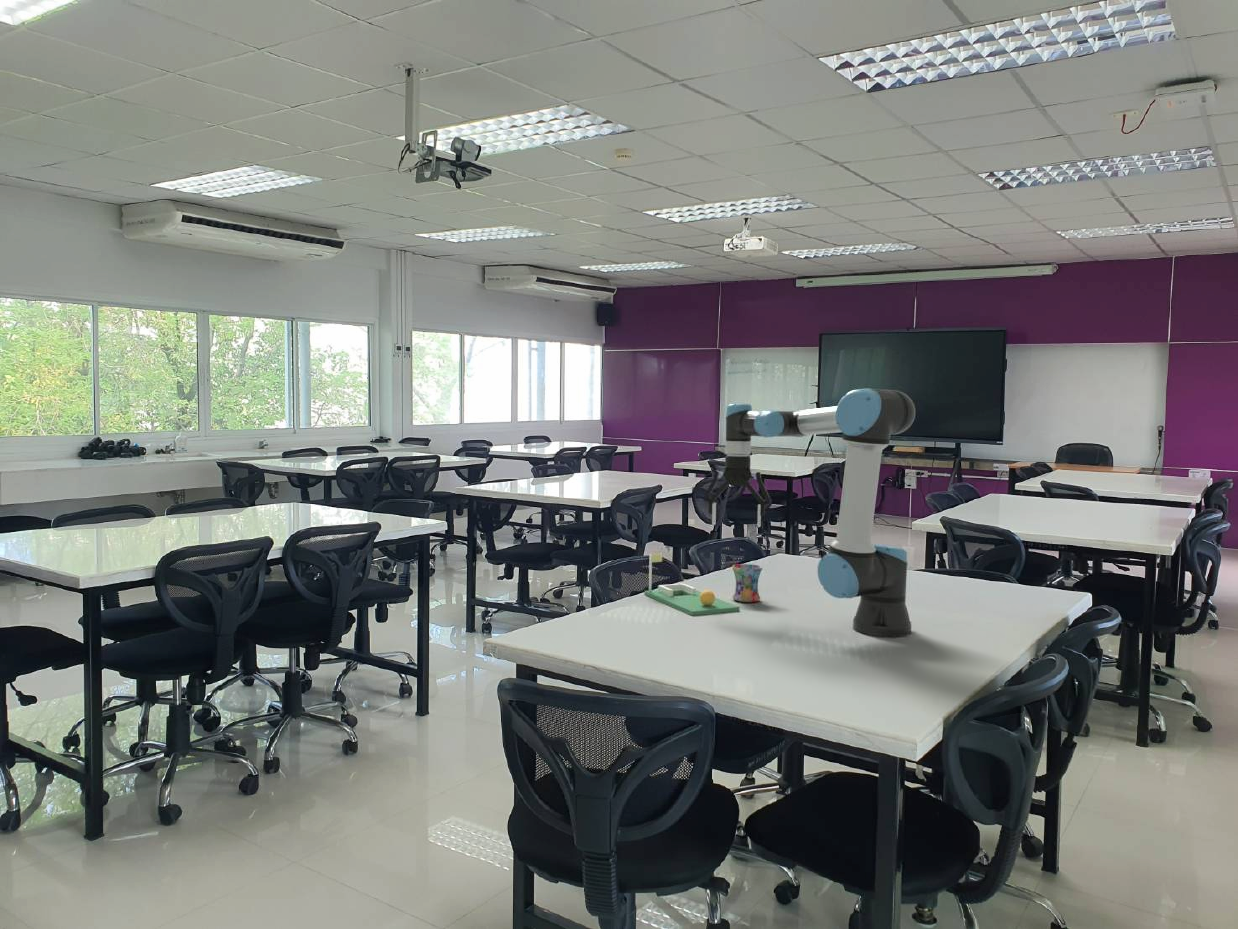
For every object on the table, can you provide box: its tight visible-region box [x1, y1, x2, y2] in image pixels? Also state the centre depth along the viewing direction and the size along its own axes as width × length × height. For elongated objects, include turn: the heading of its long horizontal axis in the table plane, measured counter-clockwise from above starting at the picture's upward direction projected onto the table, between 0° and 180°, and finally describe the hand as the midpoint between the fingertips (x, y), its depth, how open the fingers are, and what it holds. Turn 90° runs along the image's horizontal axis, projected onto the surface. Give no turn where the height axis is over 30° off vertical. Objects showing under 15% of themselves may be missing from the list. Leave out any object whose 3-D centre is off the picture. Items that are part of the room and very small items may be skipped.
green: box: [644, 552, 741, 616], centre depth 263 cm, size 30×16×13 cm, turn 25°
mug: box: [731, 563, 763, 603], centre depth 269 cm, size 12×9×11 cm
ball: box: [700, 589, 716, 606], centre depth 254 cm, size 4×4×4 cm
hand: (736, 525), depth 261 cm, fingers open, 13 cm apart
